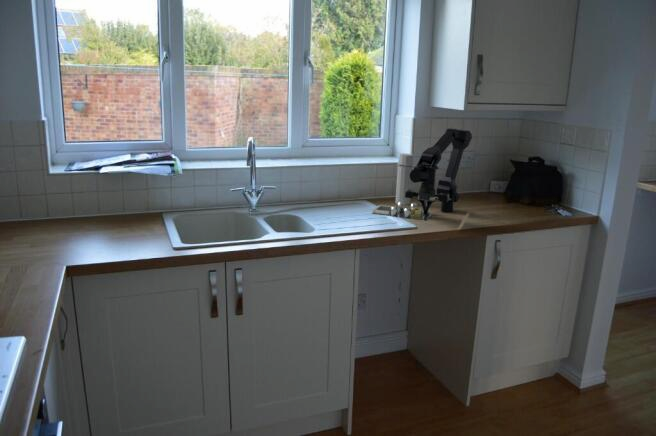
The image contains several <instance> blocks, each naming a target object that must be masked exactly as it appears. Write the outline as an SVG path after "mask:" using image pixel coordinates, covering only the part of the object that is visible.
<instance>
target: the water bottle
mask: <svg viewBox="0 0 656 436" xmlns="http://www.w3.org/2000/svg"><path fill="white" fill-rule="evenodd" d="M413 165H414V154H413V153H399V155H398V162H397V164H396V166H397V173H396V190H395V204H397V205H398V202H404V206H406V205H408V206H409V205H411V198H405V192H406V191H408V190H409V189H410V190H412V184H413V182H412V181H411V179H410V173H411V171H412V170H414V166H413Z"/></svg>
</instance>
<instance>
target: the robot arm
mask: <svg viewBox="0 0 656 436" xmlns="http://www.w3.org/2000/svg"><path fill="white" fill-rule="evenodd" d="M472 139H473V135H472V133H471V131H470V130H466V129H457V128H452V127H450V128H447V129H446V130H445V132H444V133H443V135H442V136H441V137H439V139H438V140H437V141H436V143H434V145H432V146H430V147H428V148H427V149H425V150H424V151H422V153H421V155H420V157H419V159H418V161H417V163H416V165H415V166H413V170H412V171H411V173H410V179H411V181H412V183H415V184H416V183H421V184H420V188H419V190H418V192H417V190H416V189H411V190H410V189H409V190H408V191H406V192H405V198H410V199H413V198H414V197H417V202H418V201H419V203H420V204H421V207H422V209H423V211H424V214H425V215H427V212H428V210H429V208H431V206H432V204H433V203H435V202H436V201H437V200H438V202H441V203H440V212H441V213H444V214H450V213H453V212H454V205H455V204H454V203H458V201H459V199H460V196H459V193H458V191H457V188H458V187H457V183H456V179H457V174H458V171H459V167H460V164H461V161H462V157H463V155H464V154H463V153H464V151H465V150H466V148H468V146H470V143H471V141H472ZM450 145H452V149H451V154H450V157H449V160H448V163H447V166H446V167H447V168H446V171H445V175H444V177H443V178H442V179H439V180H438V184H437V186H436V188H435V185H436V177H437V176H436V175H437V174H436V171H437V170H439V169H440V168H439V166H437V165H438V164H439V162H441V160H442V155H443V153H444V152H445V151H446V149H447V148H449V146H450ZM426 205H427V207H426Z"/></svg>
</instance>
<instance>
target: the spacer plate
mask: <svg viewBox="0 0 656 436" xmlns="http://www.w3.org/2000/svg"><path fill="white" fill-rule="evenodd" d="M404 207H405V205H404V202H398V204H397V206H395V205H393V206H391V205H382V204H378V205H377V206H376V207H374V208H373V209H372V211H371V215H378V216H385V217H386V216H387V217H393V218H401V219H409V220H416V221H417V220H418V221H425V222H426V221H428V220H429V218H431V216H432V215H433V213H430V210H431V209H430V208H431V207H430V208H429V210H428V212H427V215H425V214H424V211H423V212H422V216H421V217H413V216H410V214H411V208H418V204H417V203H415V202H412V203H411V202H410V207H405V208H404ZM426 207H427V204H426Z"/></svg>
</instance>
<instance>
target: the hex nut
mask: <svg viewBox="0 0 656 436" xmlns="http://www.w3.org/2000/svg"><path fill="white" fill-rule="evenodd" d="M410 208H411V207H410ZM422 213H423V208H419V207H417V208H411V214H410V216H413V217H421V216H422Z"/></svg>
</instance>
